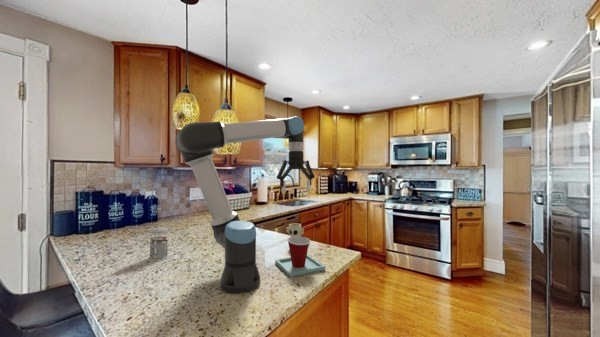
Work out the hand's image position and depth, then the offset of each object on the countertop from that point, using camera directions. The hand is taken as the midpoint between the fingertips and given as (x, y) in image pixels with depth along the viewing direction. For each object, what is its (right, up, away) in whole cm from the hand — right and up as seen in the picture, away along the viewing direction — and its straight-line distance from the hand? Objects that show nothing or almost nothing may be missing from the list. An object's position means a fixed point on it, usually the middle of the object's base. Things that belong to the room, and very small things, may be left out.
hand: (296, 192), depth 123 cm
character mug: (-1, -33, +15) cm, 36 cm away
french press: (-70, -33, -1) cm, 77 cm away
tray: (+2, -33, -12) cm, 35 cm away
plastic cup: (+1, -32, -13) cm, 35 cm away
